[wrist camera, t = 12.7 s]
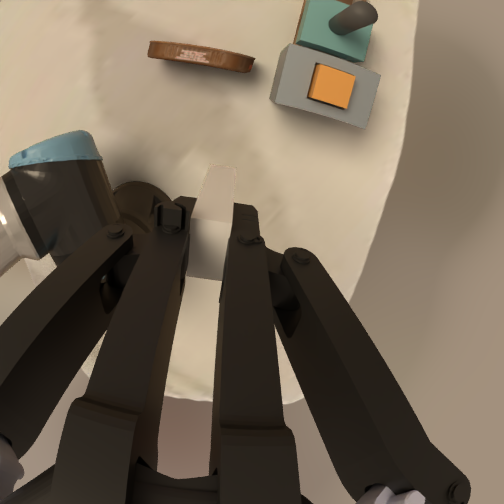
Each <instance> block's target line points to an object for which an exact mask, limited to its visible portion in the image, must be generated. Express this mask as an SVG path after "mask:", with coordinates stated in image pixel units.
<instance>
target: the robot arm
mask: <svg viewBox="0 0 504 504" xmlns="http://www.w3.org/2000/svg"><path fill="white" fill-rule="evenodd" d="M102 160H103V159H102V157H101V156H100V155H99V152H98V150H97V148H96V145H95V142H94V139H93V137H92V136H91V134H90V133H88V132H87V131H83V130H78V131H73V132H69V133H65V134H62V135H59V136H56V137H53V138H50V139H47V140H45V141H42V142H40V143H37V144H35V145H33V146H31V147H29V148H27V149H25V150H23V151H21V152H18V153H16V154H15V155H13V156H12V157H11V158H10V160H9V166H8V167H9V169H11V170H10V171H9V172H7V173H6V174H4V175H3V176H1V177H0V277H1V276H2V275H3V274H4V273H5V272H7V271H8V270H9V269H10V268H11V267H13V266H14V265H15V264H16V263H17V262H18V261H20V260H21V259H22V258H29V259H33V260H40V259H42V258H43V257H44V256H45V255H47V254H48V253H50V255H51V257H52V259H53V260H54V262H55V264H56V266H57V268H56V269H55V270H54V271H53V272H51V273H50V274H49V275H48V276H47V277H46V278H45V279H44V280H43V281H42V282H41V283H40V284H39V285H38V286H37V287H36V288H35V289H34V290H33V291H32V292H31V293H30V294H29V295H28V296H27V297H26V298H25V299H24V300H23V301H22V303H21V304H20V305H19V306H18V307H17V308H16V309H15V310H14V311H13V312H12V314H11V315H10V316H9V317H8V318H7V319H6V320H5V321H4V322H3V324H2V325H1V326H0V504H313V503H312V502H311V501H309V500H308V499H307V498H306V497H305V496H303V495H301V493H300V483H299V472H298V463H297V452H296V444H295V438H294V435H293V433H292V430H291V429H289V428H288V427H287V426H286V424H285V422H284V417H283V406H282V395H281V385H280V375H279V365H278V355H277V346H276V336H275V327H276V329H277V332H278V334H279V337H280V339H281V342H282V344H283V346H284V349H285V351H286V354H287V356H288V358H289V361H290V363H291V366H292V368H293V370H294V373H295V375H296V378H297V380H298V382H299V385H300V387H301V390H302V392H303V394H304V397H305V399H306V401H307V404H308V406H309V409H310V411H311V414H312V416H313V418H314V421H315V423H316V425H317V428H318V430H319V433H320V435H321V437H322V440H323V442H324V444H325V447H326V449H327V451H328V454H329V456H330V458H331V461H332V463H333V466H334V468H335V470H336V472H337V474H338V476H339V478H340V480H341V482H342V484H343V486H344V487H345V489H346V490H347V492H348V493H349V494H350V496H351V497H352V498H353V499H354V500H355V501H356V502H357V503H356V504H467V503H468V501H469V498H470V493H471V487H470V482H469V480H468V479H467V477H466V476H465V475H464V474H463V473H462V472H461V471H460V470H459V469H458V468H457V467H456V466H455V465H454V464H453V463H452V462H451V461H450V460H449V459H447V458H446V457H445V456H444V455H443V454H442V453H441V452H440V451H439V450H438V449H437V448H436V447H435V446H434V445H433V444H432V443H431V442H430V440H429V439H428V437H427V435H426V433H425V431H424V429H423V427H422V425H421V423H420V422H419V420H418V418H417V416H416V414H415V413H414V411H413V409H412V407H411V405H410V404H409V402H408V400H407V398H406V396H405V395H404V393H403V391H402V390H401V388H400V386H399V385H398V383H397V381H396V380H395V378H394V376H393V374H392V372H391V371H390V369H389V368H388V366H387V364H386V362H385V361H384V359H383V358H382V356H381V354H380V353H379V351H378V349H377V348H376V346H375V345H374V343H373V341H372V340H371V338H370V337H369V336H368V333H367V332H366V330H365V329H364V327H363V326H362V324H361V322H360V321H359V319H358V318H357V316H356V315H355V313H354V312H353V311H352V309H351V307H350V306H349V304H348V302H347V301H346V299H345V298H344V296H343V295H342V293H341V292H340V290H339V289H338V287H337V286H336V284H335V283H334V282H333V280H332V279H331V277H330V276H329V274H328V273H327V271H326V270H325V268H324V267H323V265H322V264H321V263H320V261H319V260H318V258H317V257H316V256H315V255H314V254H313V253H311V252H310V251H308V250H306V249H304V248H297V247H292V248H288V249H287V250H285V252H284V255H283V254H281V253H278V252H275V251H273V250H270V249H269V248H267V247H266V246H265V241H264V239H263V238H262V237H261V236H260V231H259V222H258V211H257V210H256V209H255V208H254V206H252V205H246V204H239V203H234V191H235V177H236V168H234V167H227V166H221V165H214V164H210V166H209V168H208V171H207V174H206V176H205V179H204V182H203V184H202V187H201V190H200V193H199V195H198V198H192V197H184V196H180V197H178V198H176V199H175V200H174V201H171V200H170V199H169V197H168V196H167V195H166V194H165V193H164V192H163V191H161V190H160V189H159V188H157V187H155V186H153V185H151V184H148V183H145V182H128V183H125V184H122V185H120V186H119V187H117V188H116V189H115V190H114V191H112V189H111V186H110V183H109V180H108V177H107V175H106V172H105V169H104V166H103V163H102ZM186 271H187V275H186ZM185 275H186V276H189V277H196V278H204V279H211V280H218V281H222V285H221V291H220V298H219V303H220V305H219V318H218V331H217V344H216V359H215V374H214V391H213V409H212V431H211V451H210V462H209V476H205V477H197V478H189V479H174V478H171V477H168V476H166V475H163V474H161V473H159V472H157V463H158V445H157V444H158V433H159V425H160V418H161V410H162V404H163V397H164V391H165V385H166V379H167V373H168V367H169V361H170V356H171V350H172V345H173V340H174V335H175V329H176V324H177V320H178V315H179V310H180V305H181V301H182V296H183V291H184V287H185ZM274 325H275V327H274ZM106 330H107V332H106V334H105V337H104V340H103V342H102V345H101V348H100V351H99V353H98V356H97V359H96V362H95V365H94V368H93V371H92V374H91V377H90V380H89V383H88V386H87V389H86V392H85V394H84V395H83V396H82V397H79V398H76V399H75V400H74V401H73V402H72V404H71V406H70V408H69V410H68V414H67V417H66V420H65V424H64V428H63V432H62V436H61V440H60V444H59V449H58V453H57V458H56V463H55V464H54V465H53V466H51V467H50V468H48V469H47V470H46V471H44V472H43V473H41V474H40V475H38V476H37V477H36V478H34V479H33V480H31V481H30V482H28V483H27V484H25V485H24V486H22V487H21V488H19V489H17V490H16V491H14V492H13V488H14V484H15V483H16V481H17V480H18V479H21V478H23V476H24V469H23V467H22V465H21V464H20V463H19V461H18V460H19V459H20V458H21V457H22V456H23V455H24V454H25V453H26V452H27V451H28V450H29V449H30V447H31V446H32V445H33V444H34V442H35V441H36V439H37V437H38V436H39V434H40V433H41V431H42V429H43V427H44V426H45V424H46V422H47V420H48V419H49V417H50V415H51V414H52V412H53V410H54V409H55V407H56V405H57V404H58V402H59V400H60V399H61V397H62V395H63V394H64V392H65V391H66V389H67V388H68V386H69V384H70V383H71V381H72V380H73V378H74V377H75V375H76V374H77V372H78V370H79V369H80V368H81V366H82V365H83V363H84V362H85V360H86V359H87V357H88V356H89V354H90V353H91V351H92V350H93V348H94V347H95V345H96V344H97V343H98V341H99V340H100V338H101V337H102V336H103V334H104V333H105V331H106Z"/></svg>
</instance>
